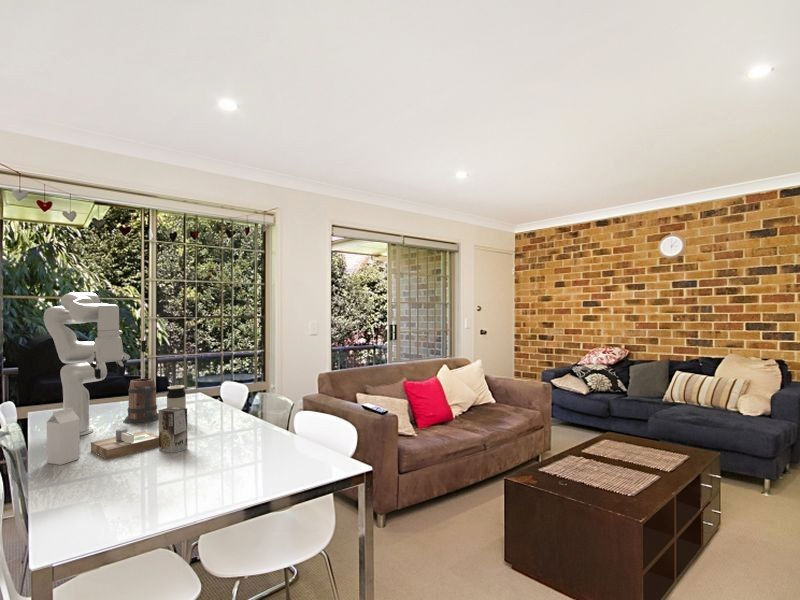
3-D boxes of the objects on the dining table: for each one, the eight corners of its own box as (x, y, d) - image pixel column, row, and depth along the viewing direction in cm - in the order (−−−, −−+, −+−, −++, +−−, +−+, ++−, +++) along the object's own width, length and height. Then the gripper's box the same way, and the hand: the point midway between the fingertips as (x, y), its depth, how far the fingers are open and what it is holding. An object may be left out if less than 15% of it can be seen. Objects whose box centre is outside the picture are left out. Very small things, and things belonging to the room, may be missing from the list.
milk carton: (80, 459, 172) (79, 408, 172) (60, 465, 165) (60, 412, 165) (66, 457, 174) (66, 406, 174) (46, 463, 167) (46, 411, 167)
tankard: (119, 419, 230) (119, 379, 230) (156, 413, 241) (156, 375, 241) (129, 428, 213) (129, 385, 213) (169, 422, 224) (168, 381, 224)
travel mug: (169, 427, 214) (169, 388, 214) (165, 424, 220) (164, 386, 220) (187, 424, 219) (187, 386, 219) (182, 421, 225) (182, 384, 225)
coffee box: (188, 448, 182) (188, 408, 182) (174, 453, 177) (174, 411, 177) (172, 445, 186) (172, 406, 186) (158, 450, 180) (157, 409, 180)
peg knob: (114, 440, 182) (114, 430, 182) (125, 437, 185) (124, 428, 185) (125, 445, 175) (125, 434, 175) (136, 442, 179) (136, 432, 179)
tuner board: (91, 451, 181) (90, 441, 181) (144, 438, 196) (144, 430, 197) (107, 459, 171) (107, 449, 171) (162, 445, 187) (162, 436, 187)
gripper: (127, 332, 199) (127, 373, 199) (80, 335, 185) (80, 379, 185) (134, 333, 194) (135, 375, 194) (87, 336, 180) (88, 381, 180)
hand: (108, 377), depth 189 cm, fingers open, 7 cm apart
